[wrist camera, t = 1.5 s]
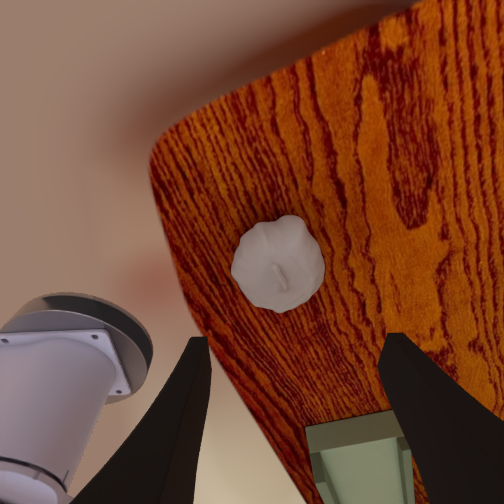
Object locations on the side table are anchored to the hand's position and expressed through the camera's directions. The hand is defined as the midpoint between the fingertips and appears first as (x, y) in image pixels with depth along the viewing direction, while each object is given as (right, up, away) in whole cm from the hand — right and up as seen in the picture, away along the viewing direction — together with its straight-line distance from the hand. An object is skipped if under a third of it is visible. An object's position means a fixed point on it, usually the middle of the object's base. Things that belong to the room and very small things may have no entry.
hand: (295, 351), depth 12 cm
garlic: (0, +5, +7) cm, 9 cm away
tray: (+12, -24, +25) cm, 37 cm away
